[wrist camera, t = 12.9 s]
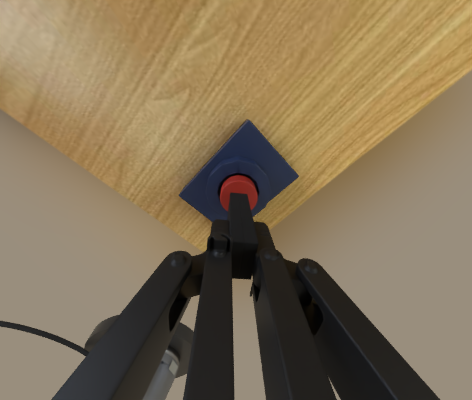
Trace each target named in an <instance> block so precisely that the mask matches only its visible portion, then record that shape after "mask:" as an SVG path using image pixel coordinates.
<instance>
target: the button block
mask: <svg viewBox="0 0 472 400" xmlns="http://www.w3.org/2000/svg"><path fill="white" fill-rule="evenodd" d="M234 175H243V176H246V177H248V178H249V179H251V180H252V182H253V183H254V185H255V188H256V191H257V195H258V200H257V203H256V205H255V207H254V208H253V209H252V210H251V212H252V217H253V216H255V215H256V214H257V213H259V212H260V211H261V210H262V209H263V208H265V207H266V204H267V203H268V202H269V201H270V200H272V199H273V198H274V197H275V196H276V195H277V194H279V193H280V192H281V191H282V190H283V189H285V188H286V187H287V186H288V185H289V184H291V183H292V182H293V181H294V180H295V179H296V178H298V177H299V176H298V175H297V173H296V172H295V171H294V170H293V169H292V168H291V167H290V165H289V164H288V163H287V162H286V161H285V160H284V159H283V158H282V156H281V155H280V154H279V153H278V152H277V151H276V150H275V149H274V147H273V146H272V145H271V144H270V143H269V142H268V141H267V139H266V138H265V137H264V136H263V135H262V134H261V133H260V132H259V130H258V129H257V128H256V127H255V126H254V125H253V124H252V123H251V121H250V120H248V119H247V120H246V121H245V122H244V123H243V124H242V125H241V126H240V127H239V129H238V130H237V131H236V132H235V133H234V134H233V135H232V136H231V137H230V138H229V139H228V140H227V142H226V143H225V144H224V145H223V146H222V147H221V148H220V149H219V150H218V151H217V152H216V153H215V155H214V156H213V157H212V158H211V159H210V160H209V161H208V162H207V163H206V164H205V165H204V166H203V167H202V169H201V170H200V171H199V172H198V173H197V174H196V175H195V176H194V177H193V178H192V179H191V180H190V182H189V183H188V184H187V185H186V186H185V187H184V188H183V190H182V191H181V193H180V194H179V196H180V197H181V198H182V199H184V200H185V201H186V202H187V203H189V204H190V205H191V206H193V207H194V208H195V209H197V210H198V211H199V212H200V213H202V214H203V215H204V216H206V217H207V218H208V219H209V220H211V221H212V222H213V221H214V220H215V219H221V220H227V216H228V211H226V210H225V209H224V208H223V206H222V204H221V202H220V193H221V187H222V185H223V183H224V181H225V180H226V179H228V178H229V177H231V176H234Z"/></svg>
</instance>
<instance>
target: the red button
mask: <svg viewBox="0 0 472 400" xmlns="http://www.w3.org/2000/svg"><path fill="white" fill-rule="evenodd" d="M230 192H232V193H242V194H247V195H248V199H249V204H250V208H251V210H252V209H253V208H254V207H255V205H256V203H257V200H258V195H257V191H256V188H255V185H254V183H253V182H252V180H251V179H249V178H248V177H246V176H243V175H234V176H231V177H229V178H228V179H226V180H225V181H224V183H223V185H222V187H221V193H220V202H221V204H222V206H223V208H224V209H225V210H226V211H228V207H229V198H230Z"/></svg>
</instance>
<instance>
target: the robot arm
mask: <svg viewBox="0 0 472 400" xmlns="http://www.w3.org/2000/svg"><path fill="white" fill-rule="evenodd" d="M251 276H253V283H252V287H251V291H250V296H252V293H253V301H254V308H255V316H256V323H257V332H258V339H259V347H260V355H261V363H262V371H263V379H264V386H265V394H266V400H337V399H336V397H335V394H334V392H333V389H332V386H331V384H330V381H329V379H330V380H331V382H332V384H333V386H334V388H335V390H336V391H337V393H338V395H339V397H340V399H341V400H440V399H439V398H438V397H437V396H436V395H435V393H434V392H433V391H432V390H431V389H430V388H429V387H428V386H427V385H426V383H425V382H424V381H423V380H422V379H421V378H420V377H419V376H418V374H417V373H416V372H415V371H414V370H413V369H412V368H411V367H410V365H409V364H408V363H407V362H406V361H405V360H404V359H403V357H402V356H401V355H400V354H399V353H398V352H397V351H396V350H395V349H394V347H393V346H392V345H391V344H390V343H389V342H388V341H387V339H386V338H385V337H384V336H383V335H382V334H381V333H380V332H379V330H378V329H377V328H376V327H375V326H374V325H373V324H372V323H371V321H370V320H368V318H367V317H366V316H365V315H364V314H363V313H362V311H361V310H360V309H359V308H358V307H357V306H356V305H355V304H354V303H353V301H352V300H351V299H350V298H349V297H348V296H347V295H346V293H345V292H344V291H343V290H342V289H341V288H340V287H339V286H338V284H337V283H336V282H335V281H334V280H333V279H332V278H331V277H330V276H329V274H328V273H327V272H326V271H325V270H324V269H323V268H322V266H320V265H319V264H318V263H317V262H315V261H313V260H311V259H304V258H303V259H301V260H299V262H298V263H295V262H291V261H288V260H286V259H284V258H283V256H282V254H281V253H280V252H279V251H278V250H276V249H275V246H274V243H273V240H272V237H271V235H270V232H269V229H268V226H267V225H266V224H265V223H263V222H254V221H253V217H252V212H251V208H250V204H249V199H248V195H247V194H242V193H232V192H230V198H229V207H228V216H227V220H221V219H215V220H214V221H213V223H212V227H211V234H210V236H209V237H208V241H207V250H206V251H205V252H204V253H202V254H200V255H196V256H191V255H190V254H189V253H188V252H185V251H175V252H173V253H170V254H169V255H168V256H167V257H166V258H165V259H164V260H163V262H162V263H161V264H160V265H159V266H158V268H157V269H156V270H155V271H154V273H153V274H152V275H151V276H150V278H149V279H148V280H147V281H146V283H145V284H144V285H143V286H142V288H141V289H140V290H139V292H138V293H137V294H136V295H135V296H134V298H133V299H132V300H131V301H130V303H129V304H128V305H127V306H126V308H125V309H124V310H123V311H122V313H121V314H120V315H119V316H118V317H117V319H116V320H115V321H114V322H113V324H112V325H111V326H110V327H109V329H108V330H107V331H106V332H105V334H104V335H103V336H102V337H101V339H100V340H99V341H98V342H97V344H96V345H95V346H94V347H93V349H92V350H91V351H90V352H88V351H87V350H85V349H83V348H82V347H80V346H78V345H76V344H74V343H72V342H70V341H68V340H66V339H63V338H61V337H59V336H56V335H53V334H51V333H48V332H45V331H41V330H38V329H35V328H31V327H28V326H24V325H20V324H15V323H10V322H4V321H0V326H1V327H7V328H12V329H17V330H21V331H25V332H29V333H32V334H36V335H39V336H42V337H45V338H48V339H51V340H54V341H56V342H59V343H61V344H63V345H66V346H68V347H70V348H72V349H74V350H77V351H78V352H80V353H81V354H83V355H84V356H86V357H85V359H84V360H83V361H82V362H81V364H80V365H79V366H78V367H77V369H76V370H75V371H74V373H73V374H72V375H71V376H70V377H69V378H68V380H67V381H66V382H65V384H64V385H63V386H62V387H61V388H60V390H59V391H58V392H57V393H56V395H55V396H54V397H53V398H52V400H165V399H166V396H167V394H168V392H169V390H170V388H171V385H172V383H173V381H174V379H175V377H176V374H177V371H178V368H179V363H180V356H179V354H178V352H177V351H176V350H175V349H174V348H172V347H171V346H169V343H170V341H171V339H172V337H173V335H174V333H175V331H176V329H177V326H178V324H179V322H180V320H181V318H182V316H183V314H184V312H185V310H186V308H187V305H188V303H189V301H190V299H191V297H193V296H197V295H200V298H199V304H198V310H197V316H196V323H195V329H194V335H193V341H192V347H191V354H190V360H189V366H188V372H187V379H186V385H185V392H184V397H183V400H234V358H233V308H232V278H236V279H251ZM328 377H329V378H328Z"/></svg>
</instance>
